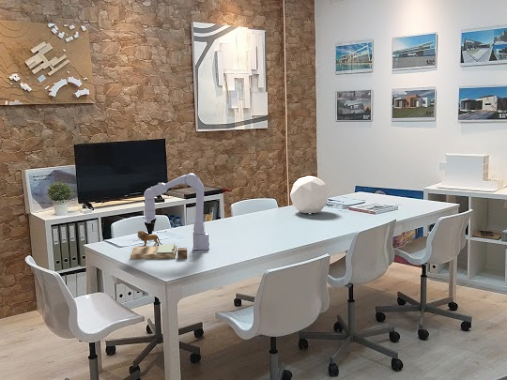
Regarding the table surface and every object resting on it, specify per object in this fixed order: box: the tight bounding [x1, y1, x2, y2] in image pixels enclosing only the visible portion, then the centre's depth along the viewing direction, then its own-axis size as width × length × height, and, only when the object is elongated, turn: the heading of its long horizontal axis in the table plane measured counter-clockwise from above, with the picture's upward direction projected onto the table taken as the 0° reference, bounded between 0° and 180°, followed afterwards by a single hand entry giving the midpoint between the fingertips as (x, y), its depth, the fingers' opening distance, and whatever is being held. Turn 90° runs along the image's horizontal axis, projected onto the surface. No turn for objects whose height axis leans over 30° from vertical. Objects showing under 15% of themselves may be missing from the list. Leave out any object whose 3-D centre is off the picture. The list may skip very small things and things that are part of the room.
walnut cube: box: [177, 247, 188, 260], centre depth 308 cm, size 5×5×5 cm
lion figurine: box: [137, 230, 163, 247], centre depth 334 cm, size 15×5×9 cm, turn 90°
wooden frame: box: [129, 245, 178, 260], centre depth 314 cm, size 24×17×3 cm
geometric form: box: [289, 175, 330, 214], centre depth 426 cm, size 28×30×30 cm
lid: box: [157, 242, 176, 253], centre depth 314 cm, size 9×16×2 cm, turn 5°
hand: (150, 232), depth 323 cm, fingers open, 7 cm apart
